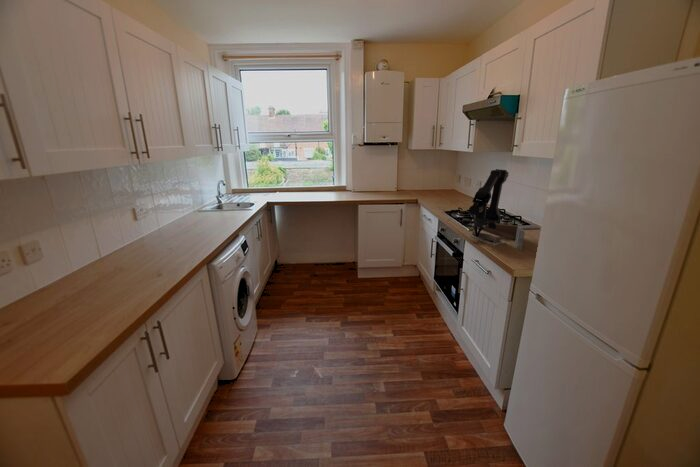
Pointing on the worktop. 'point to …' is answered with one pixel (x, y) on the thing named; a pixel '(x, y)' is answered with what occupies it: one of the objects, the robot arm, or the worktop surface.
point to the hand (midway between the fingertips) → (476, 237)
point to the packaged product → (487, 238)
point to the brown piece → (508, 232)
